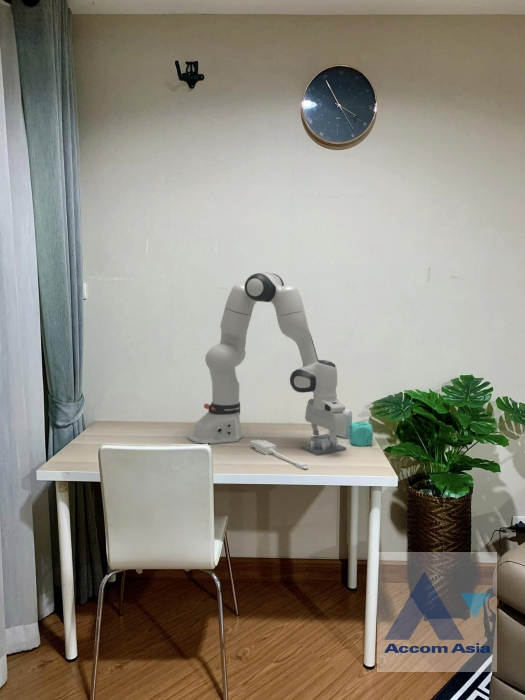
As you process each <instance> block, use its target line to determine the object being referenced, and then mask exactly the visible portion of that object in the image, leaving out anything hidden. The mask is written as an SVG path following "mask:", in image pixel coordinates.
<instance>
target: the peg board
mask: <svg viewBox="0 0 525 700" xmlns="http://www.w3.org/2000/svg"><path fill="white" fill-rule="evenodd" d="M309 439H310V442H309V443H310V444H308V445H307V444H306V445H302V446H301V449H302V450H303V451H306V452H308V453H311V454H312V455H316V456H322V455H327V454H332V453H333V454H334V453H336V452H344V451H347V447H346V446H344V445H341V444H339V440H338V439H337V440H335V447H333V448H327V449H326V443H325V442H323V447H322V450H317V449H314V448H313V446H314V441H311V437H310V438H309Z"/></svg>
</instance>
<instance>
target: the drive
mask: <svg viewBox="0 0 525 700" xmlns="http://www.w3.org/2000/svg"><path fill="white" fill-rule="evenodd" d="M328 436H330V434H329V433H326V434H319V435H314V436H310V438H311V441H314V446H313V448H314V449H317V450H322V447H323V442H325V443H326V449H327V448H333V447H335V440H338V436H335V437H334V441H332V442H331V441H329V440H328Z"/></svg>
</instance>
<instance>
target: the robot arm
mask: <svg viewBox="0 0 525 700" xmlns="http://www.w3.org/2000/svg"><path fill="white" fill-rule="evenodd" d="M257 302H264V303H271V304H272V305H273V307H274V309H275V310H274V311H275V314H276V318H277V319H276V320H277V325H278V327H279V329H280V332H281V333H282V334H283V335H285V337H287V338H289V339H291V340H292V341H294V342H295V344H296V346H297V348H298V350H299V355H300V359H301V362H302V367H299V368H296V369H295V370H294V371H292V372H291V373H290V377H289V382H290V383H289V384H290V386H291V388H292V389H293V390H294V391H295V392H297V393H303V394H304V393H311V392H312V393H313V397H312V398H310V399H308V401H307V404H306V408H305V413H304V414H305V417H304V419H305V421H306V422H308V423H310V424H311V425H310V426H311V428H312V434H313V435H314V436H318V435H320V431H319V429H318V427H321V428H323V429H327V430H328V431H329V430H330V433H331V434H330V436H328V440H329V441H331V442H332V441H334V437H335V435H336V433H337V432H342V431H343V430H344V425H345V415H344V412H343V411H345V408H346V405H344V404H343V403H342V402H341V401H340V400H339V399H338V398H337V396H338V395H337V387H338V369H337V366H336V364H335V363H333V362H332V361H330V360H325V359H319V357H318V354H317V351H316V348H315V344H314V340H313V336H312V334H311V331H310V328H309V325H308V321H307V317H306V312H305V311H306V310H305V307H304V304H303V300H302V297H301V294H300V292H299V290H298V288H297V287H296V286H294V285H288V284H287V285H285V282H284V281H283V279H282V277H280V276H279V275H278V274H276V273H271V272H262V273H261V272H258V273H254V274H251V275H249V277H247V279H246V280H245V282H243V283H242V282H239V283H236V284H234V285H233V287H232V288H231V290H230V292H229V295H228V297H227V300H226V303H225V306H224V310H223V314H222V318H221V321H220V329H221V330H220V331H221V332H220V342H219V343H218V344H216V345H213V346H211V348H209V350H208V351H207V352H206V354H205V358H204V359H205V360H204V361H205V365H206V366H207V368H208V369H209V374H210V378H211V379H210V380H211V388H212V391H211V392H212V393H211V395H212V397H211V398H212V402H211V403H210V404H209V403H204V405H203V409H206V410H208V411H207V412H206V413H205V414H204V415H203V416H202V417H201V418H200V419H199V420H198V421H196V422H195V424H194V429H193V433H189V434H188V439H189V440H190V441H191V442H193V443H196V444H199V443H205V444H204V445H210V444H211V445H213V444H223V443H225V444H226V443H234V442H239V441H240V439H242V438H243V437H244V436H243V435H244V434H243V431H242V427H241V419H240V414H241V402H240V382H239V381H238V379H237V378H238V377H237V372H236V367H238V366H240V365H241V363H243V361H244V360H245V358H246V346H247V345H246V344H247V343H246V341H247V333H248V330H249V325H250V322H251V318H252V314H253V311H254V307H255V305H256V304H257ZM208 443H210V444H208Z"/></svg>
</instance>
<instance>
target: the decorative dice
mask: <svg viewBox="0 0 525 700" xmlns="http://www.w3.org/2000/svg"><path fill="white" fill-rule="evenodd" d="M373 431H374V430H373V426H372V424H371V423H370V422H364V421H354V422H352V424H351V425H350V438H349V441H350V444H351V445H353V446H355V447H356V446H357V447H369V446H371V444H372V443H373V438H374V432H373Z"/></svg>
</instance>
